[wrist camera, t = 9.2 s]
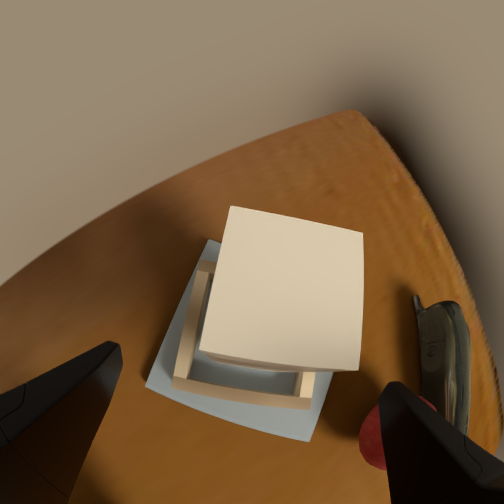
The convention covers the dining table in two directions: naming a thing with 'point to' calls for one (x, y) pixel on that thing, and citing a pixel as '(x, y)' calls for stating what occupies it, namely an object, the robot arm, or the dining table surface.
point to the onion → (375, 438)
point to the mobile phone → (445, 360)
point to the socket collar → (183, 382)
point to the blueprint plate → (233, 379)
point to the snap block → (285, 295)
